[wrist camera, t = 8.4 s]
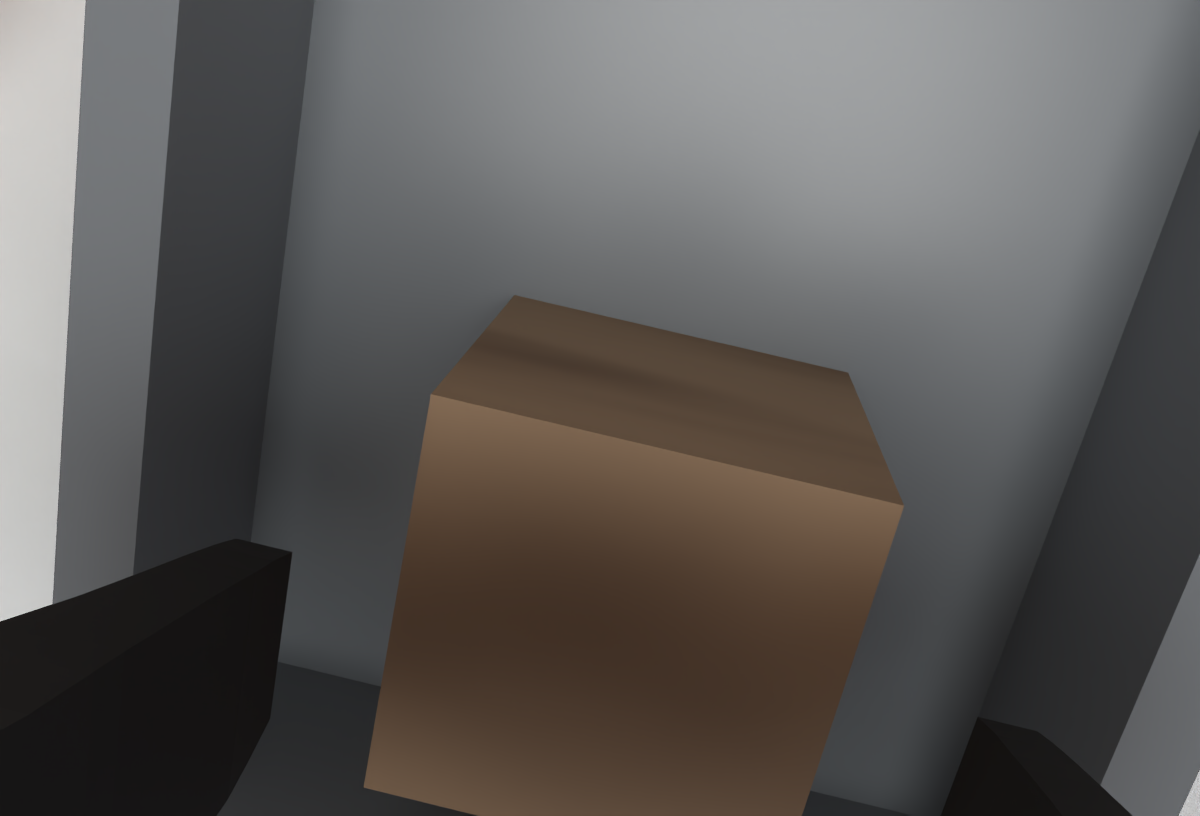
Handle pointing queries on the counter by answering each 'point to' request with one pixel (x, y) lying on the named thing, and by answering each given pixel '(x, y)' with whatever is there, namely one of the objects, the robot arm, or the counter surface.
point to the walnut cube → (628, 575)
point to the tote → (665, 324)
